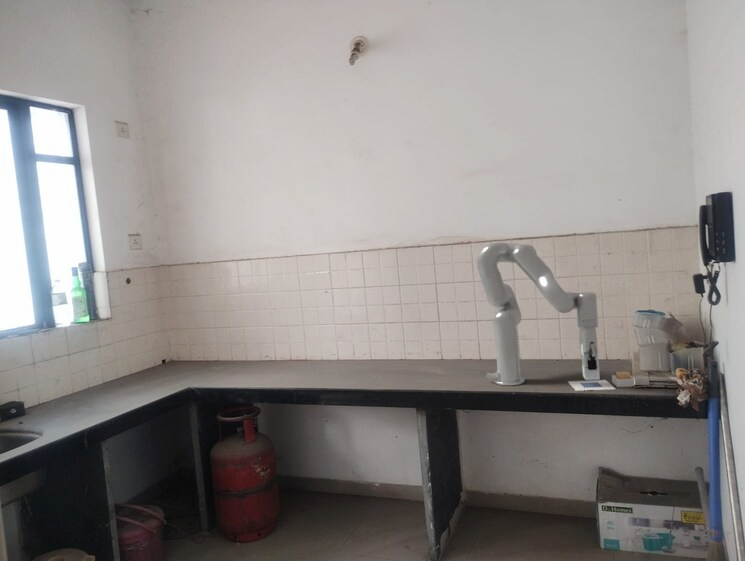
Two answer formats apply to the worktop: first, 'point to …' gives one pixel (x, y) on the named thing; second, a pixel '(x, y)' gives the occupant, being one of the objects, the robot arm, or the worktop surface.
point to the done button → (623, 375)
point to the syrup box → (587, 373)
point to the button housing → (622, 382)
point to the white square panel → (591, 385)
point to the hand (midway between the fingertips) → (590, 367)
